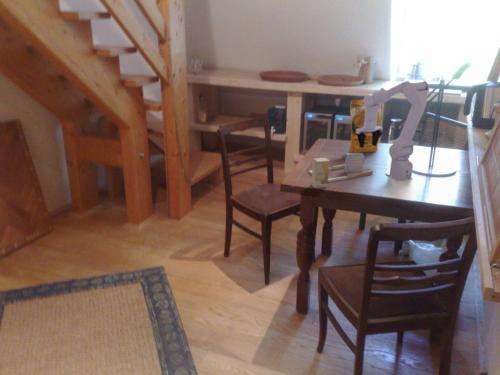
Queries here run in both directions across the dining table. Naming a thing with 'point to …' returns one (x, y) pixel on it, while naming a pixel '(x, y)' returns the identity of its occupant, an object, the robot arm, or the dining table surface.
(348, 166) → the medicine box
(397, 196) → the dining table surface
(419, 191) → the dining table surface
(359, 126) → the pancake mix bag
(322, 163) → the skincare box
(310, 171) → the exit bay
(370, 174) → the pair of tan bars
